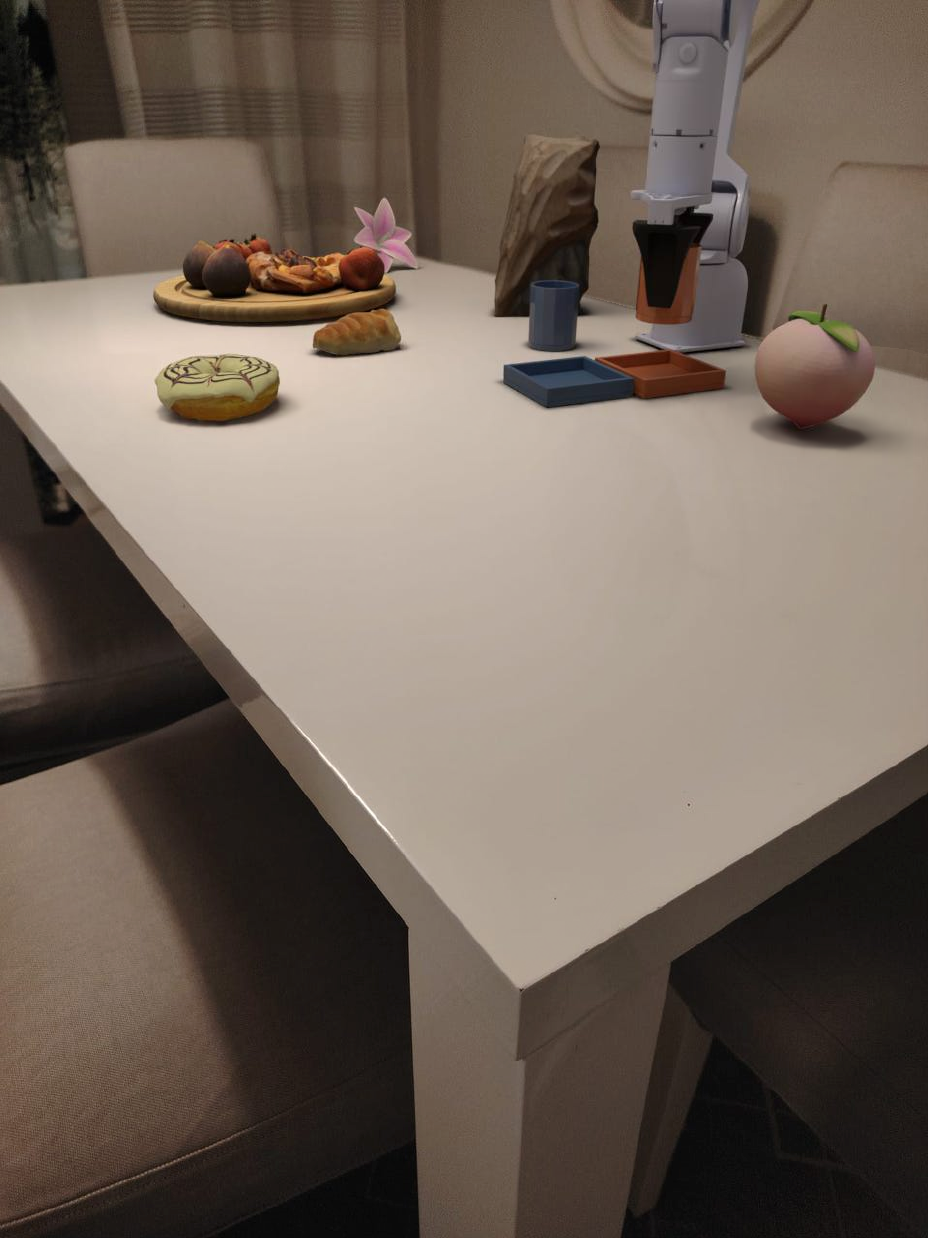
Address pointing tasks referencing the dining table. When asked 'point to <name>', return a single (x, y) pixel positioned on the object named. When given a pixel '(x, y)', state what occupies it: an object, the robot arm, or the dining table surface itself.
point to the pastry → (359, 334)
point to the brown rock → (547, 220)
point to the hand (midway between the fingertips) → (665, 300)
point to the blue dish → (567, 381)
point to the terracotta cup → (683, 299)
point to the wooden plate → (273, 283)
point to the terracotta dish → (666, 373)
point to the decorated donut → (218, 386)
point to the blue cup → (553, 315)
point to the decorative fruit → (813, 368)
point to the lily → (385, 235)
